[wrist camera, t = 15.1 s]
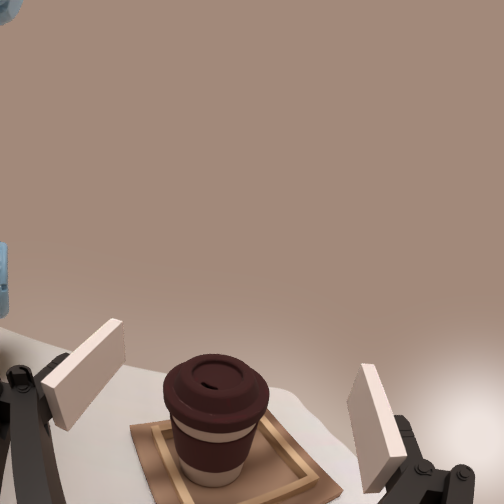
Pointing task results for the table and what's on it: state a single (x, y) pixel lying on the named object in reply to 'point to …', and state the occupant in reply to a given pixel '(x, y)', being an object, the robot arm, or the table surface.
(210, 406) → the coffee cup
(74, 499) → the table surface
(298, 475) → the cup rack
